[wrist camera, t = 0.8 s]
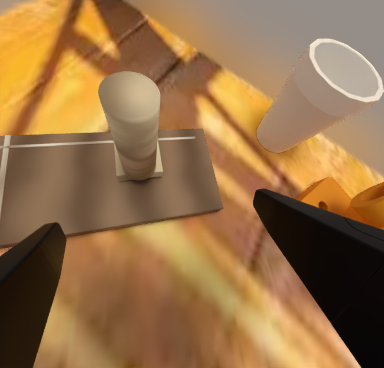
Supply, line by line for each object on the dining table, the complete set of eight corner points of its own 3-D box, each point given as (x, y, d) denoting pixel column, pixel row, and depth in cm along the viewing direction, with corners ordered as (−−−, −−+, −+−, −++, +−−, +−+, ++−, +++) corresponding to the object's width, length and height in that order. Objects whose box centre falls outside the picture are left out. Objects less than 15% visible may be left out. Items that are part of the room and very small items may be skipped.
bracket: (315, 180, 30) (409, 140, 19) (346, 216, 29) (465, 195, 18) (275, 215, 26) (365, 189, 15) (309, 259, 25) (433, 264, 14)
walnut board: (199, 136, 28) (202, 128, 26) (217, 211, 25) (223, 208, 23) (-53, 148, 20) (-75, 138, 18) (-82, 262, 17) (-113, 263, 15)
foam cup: (302, 134, 33) (386, 69, 21) (288, 171, 30) (380, 117, 18) (258, 107, 33) (318, 27, 22) (239, 140, 30) (299, 66, 18)
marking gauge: (152, 124, 27) (153, 12, 14) (162, 188, 24) (175, 116, 11) (116, 125, 25) (83, 2, 13) (121, 193, 22) (85, 117, 10)
